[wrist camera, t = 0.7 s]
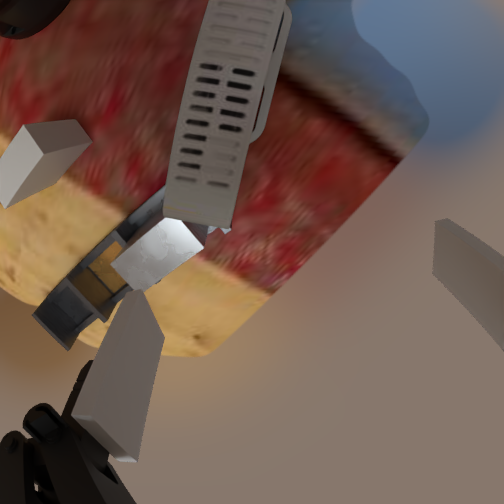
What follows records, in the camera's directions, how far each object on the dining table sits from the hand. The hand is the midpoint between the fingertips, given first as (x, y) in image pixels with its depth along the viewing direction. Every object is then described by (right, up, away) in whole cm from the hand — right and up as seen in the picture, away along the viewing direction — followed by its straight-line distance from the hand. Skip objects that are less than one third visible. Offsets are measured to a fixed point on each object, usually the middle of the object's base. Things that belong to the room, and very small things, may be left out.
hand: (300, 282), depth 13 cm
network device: (-3, +22, +17) cm, 28 cm away
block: (-26, +14, +20) cm, 35 cm away
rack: (-19, 0, +26) cm, 32 cm away
